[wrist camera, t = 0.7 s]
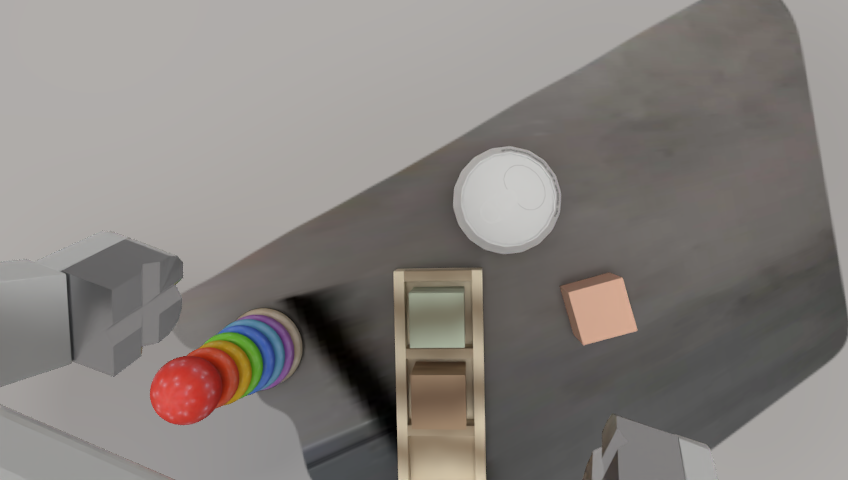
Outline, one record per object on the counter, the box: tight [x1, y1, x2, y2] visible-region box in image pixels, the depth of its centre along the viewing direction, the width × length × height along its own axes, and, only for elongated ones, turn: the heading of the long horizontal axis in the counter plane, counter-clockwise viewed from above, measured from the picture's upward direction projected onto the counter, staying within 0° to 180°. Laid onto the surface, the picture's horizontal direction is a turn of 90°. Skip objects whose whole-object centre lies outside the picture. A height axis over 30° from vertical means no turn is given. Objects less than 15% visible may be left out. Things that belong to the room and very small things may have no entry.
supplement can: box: [453, 146, 561, 254], centre depth 50 cm, size 8×8×15 cm
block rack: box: [393, 267, 486, 480], centre depth 55 cm, size 24×8×6 cm, turn 1°
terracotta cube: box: [560, 273, 638, 345], centre depth 55 cm, size 5×5×5 cm
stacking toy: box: [150, 308, 302, 425], centre depth 50 cm, size 8×8×19 cm
